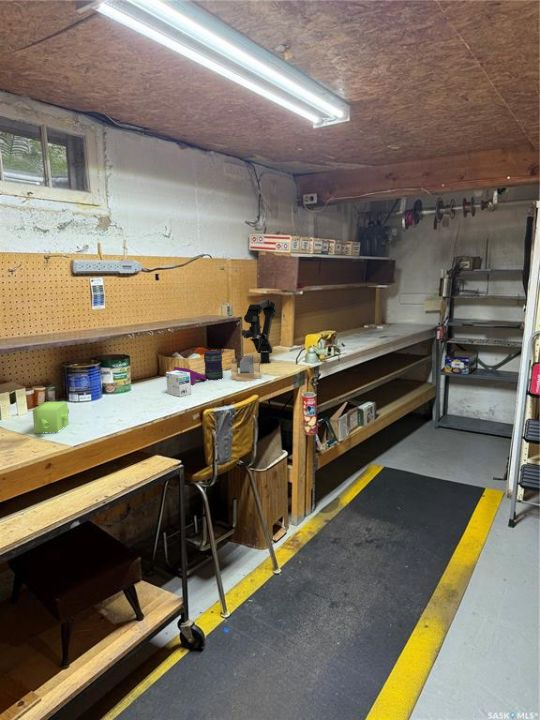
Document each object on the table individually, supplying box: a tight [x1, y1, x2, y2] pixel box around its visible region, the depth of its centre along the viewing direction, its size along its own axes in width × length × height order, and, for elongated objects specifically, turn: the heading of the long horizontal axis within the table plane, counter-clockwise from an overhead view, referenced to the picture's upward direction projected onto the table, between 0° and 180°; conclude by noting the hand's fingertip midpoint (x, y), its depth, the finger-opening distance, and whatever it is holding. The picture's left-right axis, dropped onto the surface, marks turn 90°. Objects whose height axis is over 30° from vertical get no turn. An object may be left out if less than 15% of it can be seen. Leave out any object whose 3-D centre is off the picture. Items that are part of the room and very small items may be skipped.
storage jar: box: [203, 349, 224, 381], centre depth 254 cm, size 10×10×15 cm
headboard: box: [230, 357, 261, 382], centre depth 248 cm, size 6×15×12 cm, turn 86°
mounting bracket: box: [172, 366, 207, 386], centre depth 245 cm, size 10×8×18 cm
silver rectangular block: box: [239, 354, 254, 373], centre depth 258 cm, size 20×5×10 cm, turn 175°
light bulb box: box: [165, 370, 192, 397], centre depth 222 cm, size 11×7×11 cm, turn 47°
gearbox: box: [32, 401, 70, 434], centre depth 174 cm, size 18×10×10 cm, turn 2°
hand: (257, 350), depth 279 cm, fingers closed
